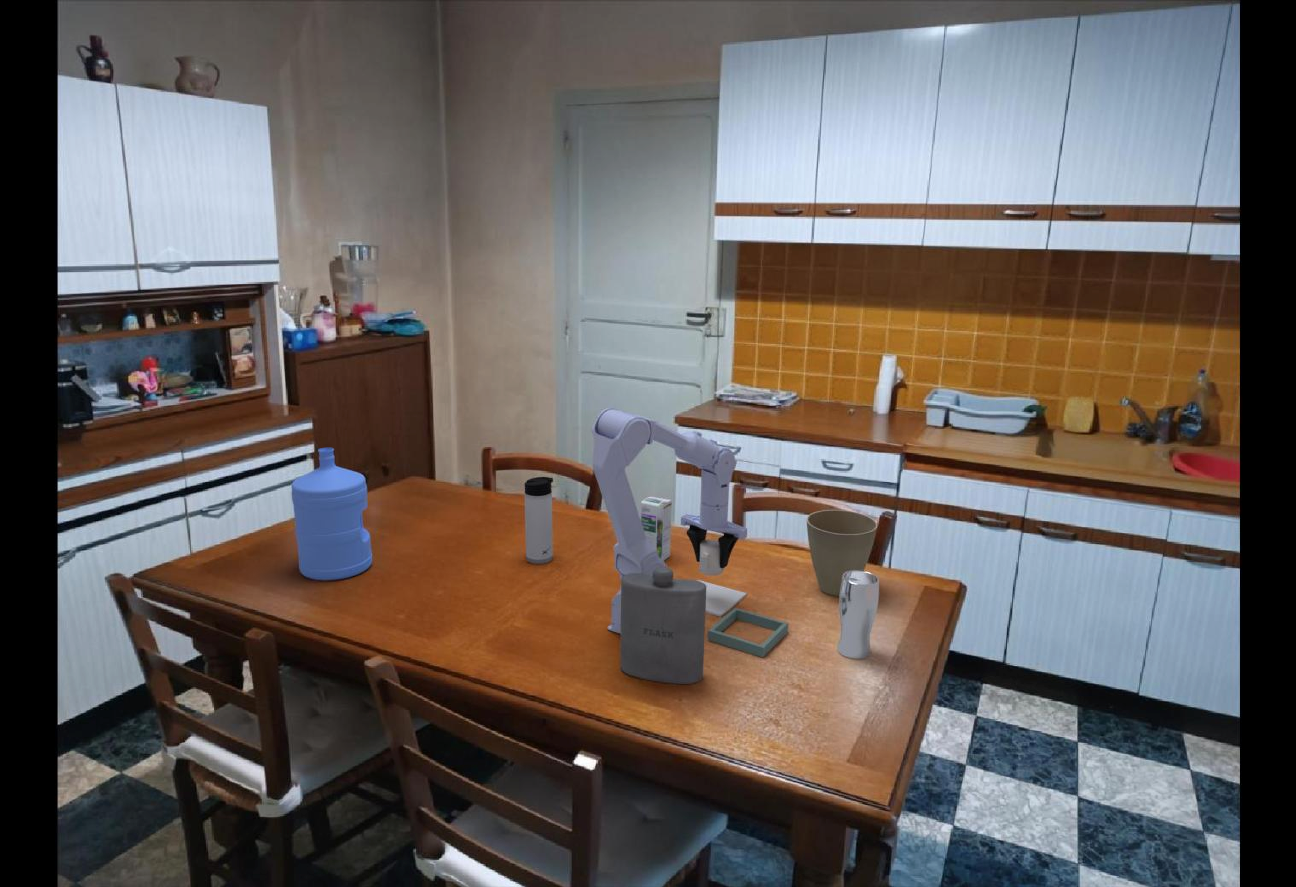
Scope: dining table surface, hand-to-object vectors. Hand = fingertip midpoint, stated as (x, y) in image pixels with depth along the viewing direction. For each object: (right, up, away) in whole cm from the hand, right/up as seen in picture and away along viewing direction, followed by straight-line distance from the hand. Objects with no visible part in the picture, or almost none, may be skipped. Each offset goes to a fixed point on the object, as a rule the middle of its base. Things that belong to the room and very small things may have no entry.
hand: (711, 563), depth 167 cm
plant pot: (+28, -7, +8) cm, 30 cm away
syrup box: (-12, -2, +23) cm, 26 cm away
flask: (-11, -16, -26) cm, 32 cm away
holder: (+6, -12, -13) cm, 18 cm away
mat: (0, -8, +3) cm, 8 cm away
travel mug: (-39, -2, +22) cm, 45 cm away
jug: (0, -1, 0) cm, 2 cm away
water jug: (-84, -3, +15) cm, 86 cm away
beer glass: (+25, -14, -17) cm, 34 cm away
